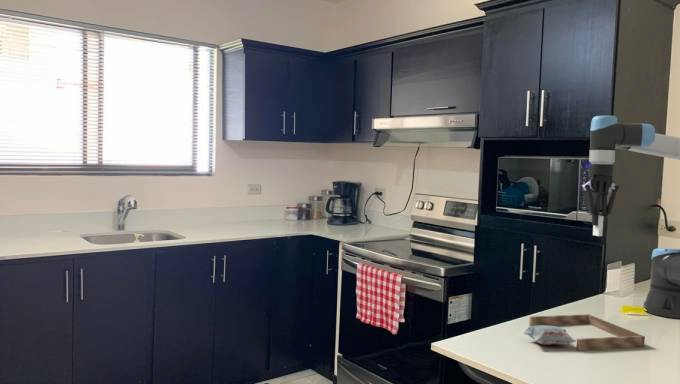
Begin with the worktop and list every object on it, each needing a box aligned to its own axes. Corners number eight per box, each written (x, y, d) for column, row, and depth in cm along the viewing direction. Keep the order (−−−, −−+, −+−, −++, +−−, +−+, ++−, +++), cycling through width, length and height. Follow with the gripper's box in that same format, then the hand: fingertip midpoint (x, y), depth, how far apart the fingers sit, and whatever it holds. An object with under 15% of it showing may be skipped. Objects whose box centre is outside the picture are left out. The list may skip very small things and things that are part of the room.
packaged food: (575, 349, 154) (576, 331, 154) (534, 347, 153) (535, 330, 153) (562, 340, 163) (563, 323, 163) (522, 338, 162) (523, 322, 162)
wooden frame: (587, 323, 183) (588, 314, 182) (644, 346, 159) (644, 336, 159) (529, 325, 177) (529, 316, 177) (578, 350, 154) (579, 339, 154)
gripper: (610, 164, 185) (606, 234, 186) (576, 162, 181) (572, 234, 183) (626, 164, 177) (622, 237, 178) (592, 163, 174) (588, 237, 175)
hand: (597, 235), depth 180 cm, fingers closed
